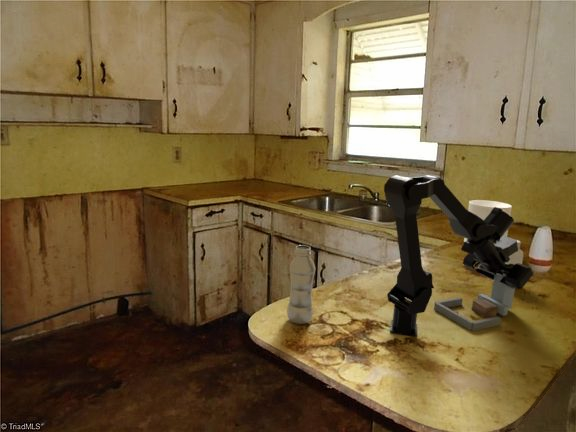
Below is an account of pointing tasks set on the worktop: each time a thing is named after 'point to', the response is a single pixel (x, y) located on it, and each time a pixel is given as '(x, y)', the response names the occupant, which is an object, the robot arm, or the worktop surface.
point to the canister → (487, 209)
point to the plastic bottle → (301, 286)
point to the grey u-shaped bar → (476, 325)
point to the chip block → (484, 308)
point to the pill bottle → (516, 256)
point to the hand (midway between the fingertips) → (507, 284)
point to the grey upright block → (500, 295)
